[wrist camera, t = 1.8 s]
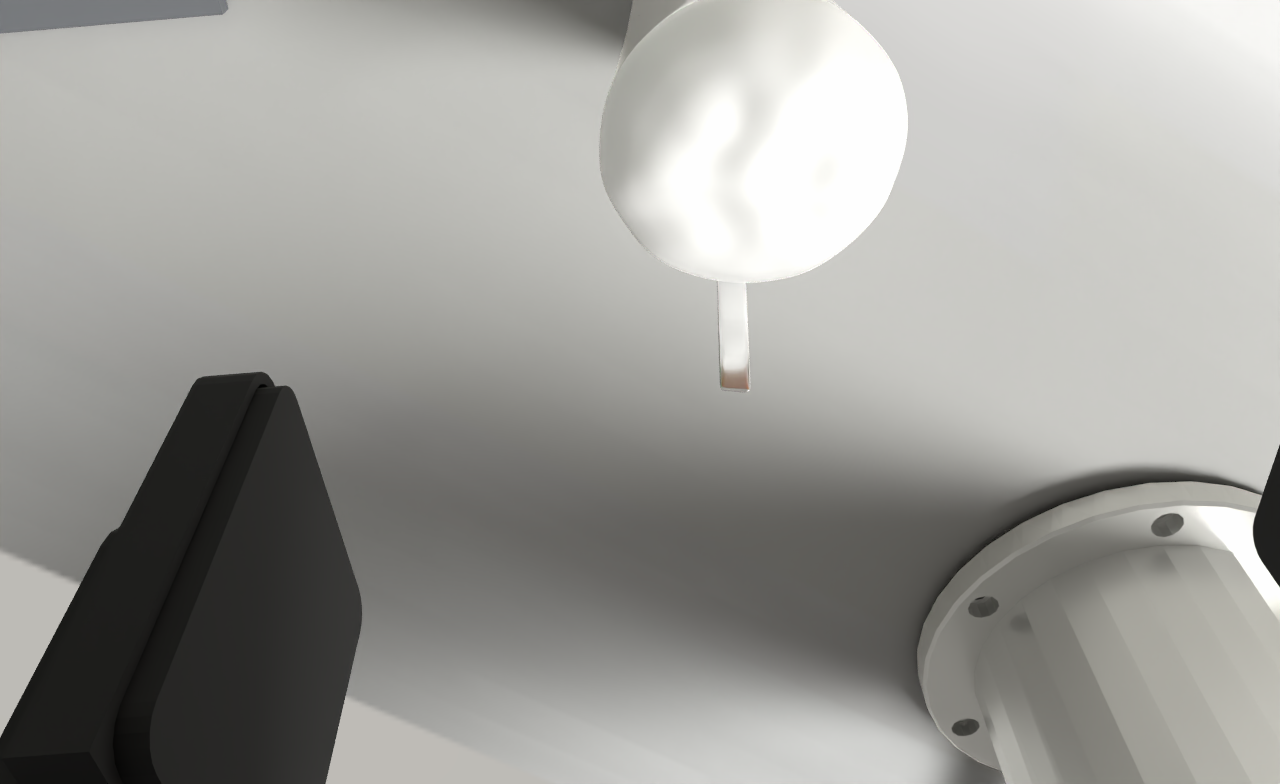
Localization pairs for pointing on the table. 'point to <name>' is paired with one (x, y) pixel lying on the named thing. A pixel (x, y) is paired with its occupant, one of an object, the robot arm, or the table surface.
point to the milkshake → (749, 143)
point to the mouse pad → (97, 12)
